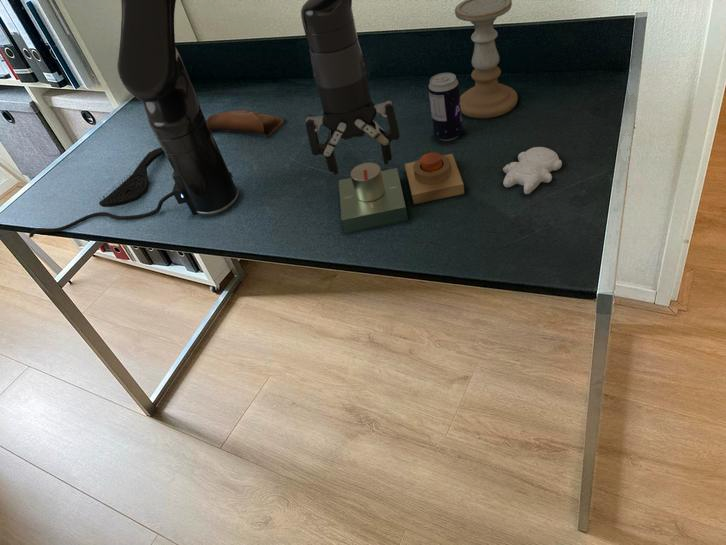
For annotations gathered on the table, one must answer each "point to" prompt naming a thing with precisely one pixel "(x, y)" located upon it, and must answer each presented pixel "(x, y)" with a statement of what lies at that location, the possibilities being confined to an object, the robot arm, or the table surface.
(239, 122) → the sunglasses case
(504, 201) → the table surface
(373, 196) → the rotary dial knob
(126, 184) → the hairbrush
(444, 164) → the button block
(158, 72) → the robot arm
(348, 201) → the control knob panel
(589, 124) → the table surface
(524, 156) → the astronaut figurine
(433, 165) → the button
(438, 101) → the beverage can
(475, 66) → the candle holder
